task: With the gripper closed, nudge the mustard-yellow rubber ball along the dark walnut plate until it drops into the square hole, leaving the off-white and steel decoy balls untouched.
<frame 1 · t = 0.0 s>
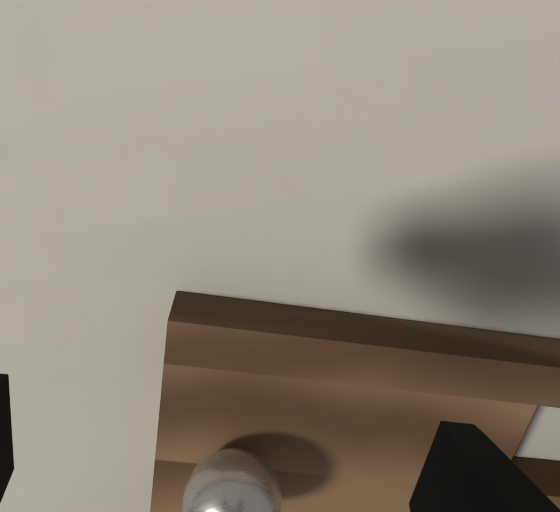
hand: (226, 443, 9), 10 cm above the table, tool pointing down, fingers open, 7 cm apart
hole plate: (422, 493, 24), on the table
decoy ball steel: (232, 500, 18), point 4 cm above the table, touching hole plate
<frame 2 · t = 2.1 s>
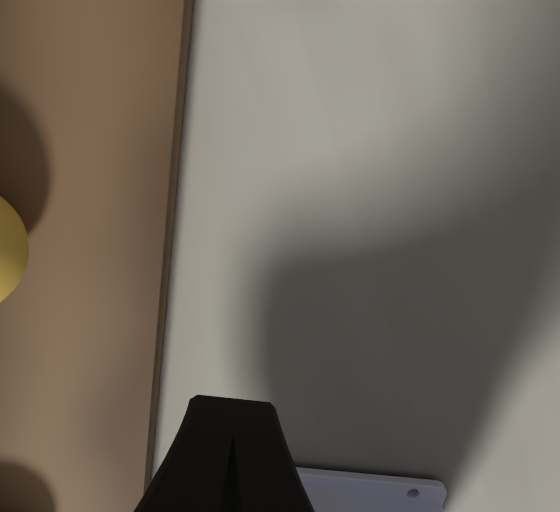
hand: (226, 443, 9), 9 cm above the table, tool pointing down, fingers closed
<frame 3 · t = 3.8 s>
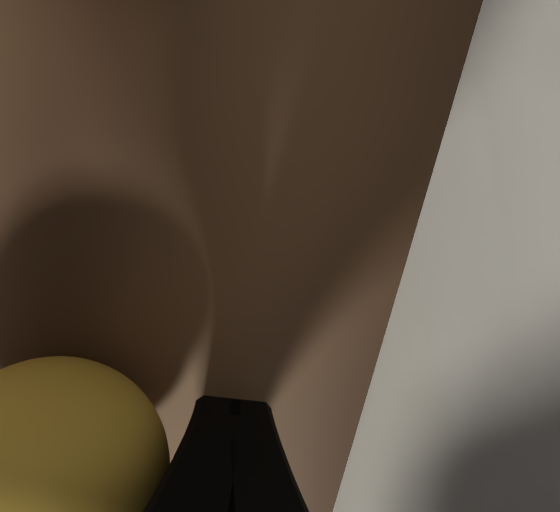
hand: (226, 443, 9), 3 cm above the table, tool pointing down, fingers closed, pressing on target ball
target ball: (50, 475, 8), point 4 cm above the table, touching gripper, hole plate
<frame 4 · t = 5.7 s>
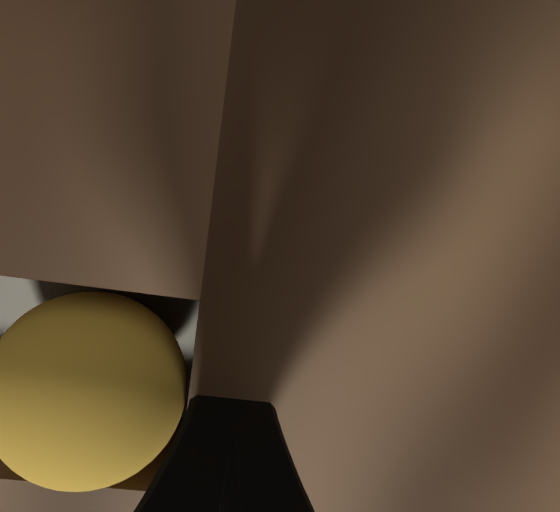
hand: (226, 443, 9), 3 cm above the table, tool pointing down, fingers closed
hole plate: (290, 485, 13), on the table
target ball: (89, 387, 10), point 2 cm above the table, tilted 66°
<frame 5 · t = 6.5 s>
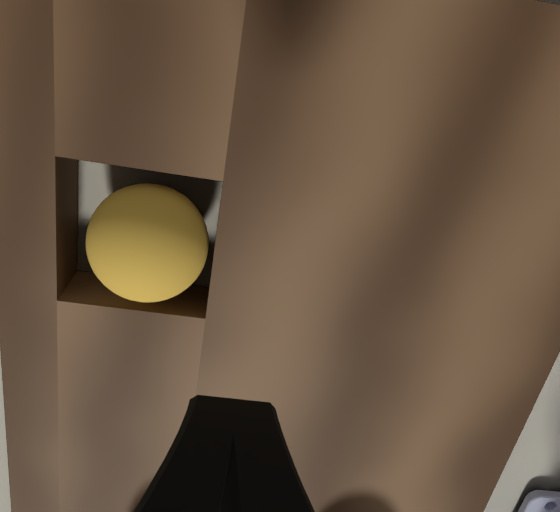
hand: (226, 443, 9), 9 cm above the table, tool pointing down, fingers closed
hole plate: (280, 339, 19), on the table
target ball: (148, 242, 15), point 2 cm above the table, tilted 62°
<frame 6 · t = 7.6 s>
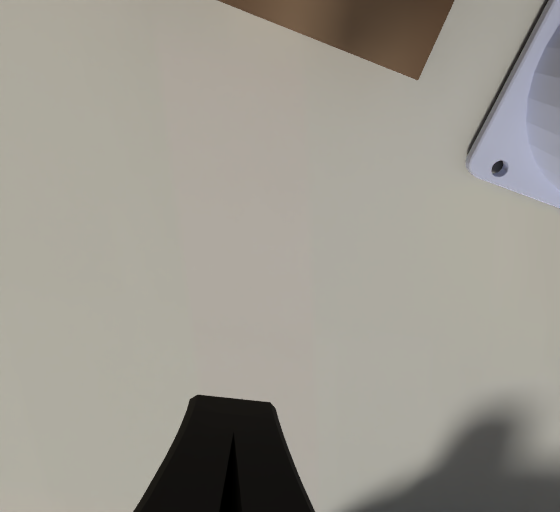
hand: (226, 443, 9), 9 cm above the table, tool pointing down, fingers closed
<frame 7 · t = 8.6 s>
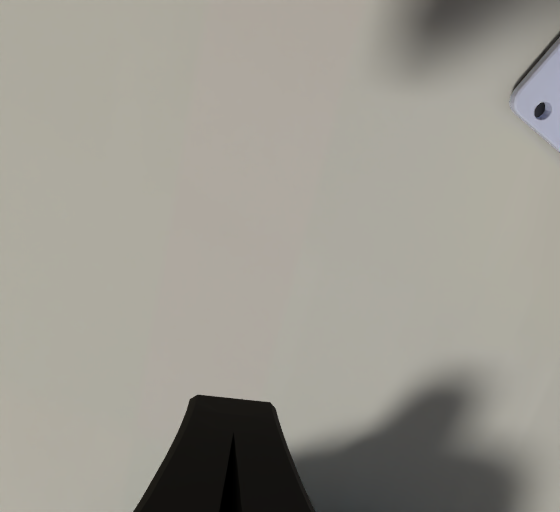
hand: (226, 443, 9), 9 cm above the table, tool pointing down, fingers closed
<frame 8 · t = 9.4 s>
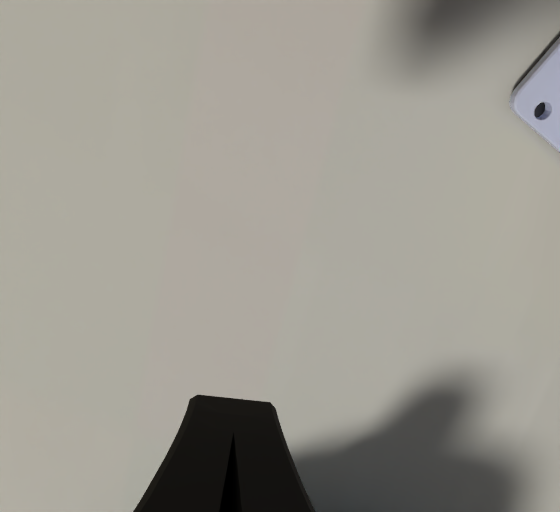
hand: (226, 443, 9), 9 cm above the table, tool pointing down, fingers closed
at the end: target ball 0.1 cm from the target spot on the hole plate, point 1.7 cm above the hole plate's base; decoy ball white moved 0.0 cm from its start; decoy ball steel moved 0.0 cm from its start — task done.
